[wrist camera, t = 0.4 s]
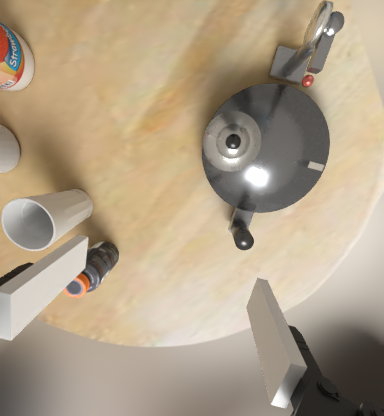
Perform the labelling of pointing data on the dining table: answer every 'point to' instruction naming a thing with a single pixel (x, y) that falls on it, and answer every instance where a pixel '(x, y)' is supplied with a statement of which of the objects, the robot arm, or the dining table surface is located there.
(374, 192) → the dining table surface
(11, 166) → the mug
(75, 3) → the dining table surface
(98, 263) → the pill bottle
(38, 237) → the cup
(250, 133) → the cover
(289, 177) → the turntable
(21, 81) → the fruit juice
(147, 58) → the dining table surface
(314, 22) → the indicator
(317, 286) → the dining table surface
